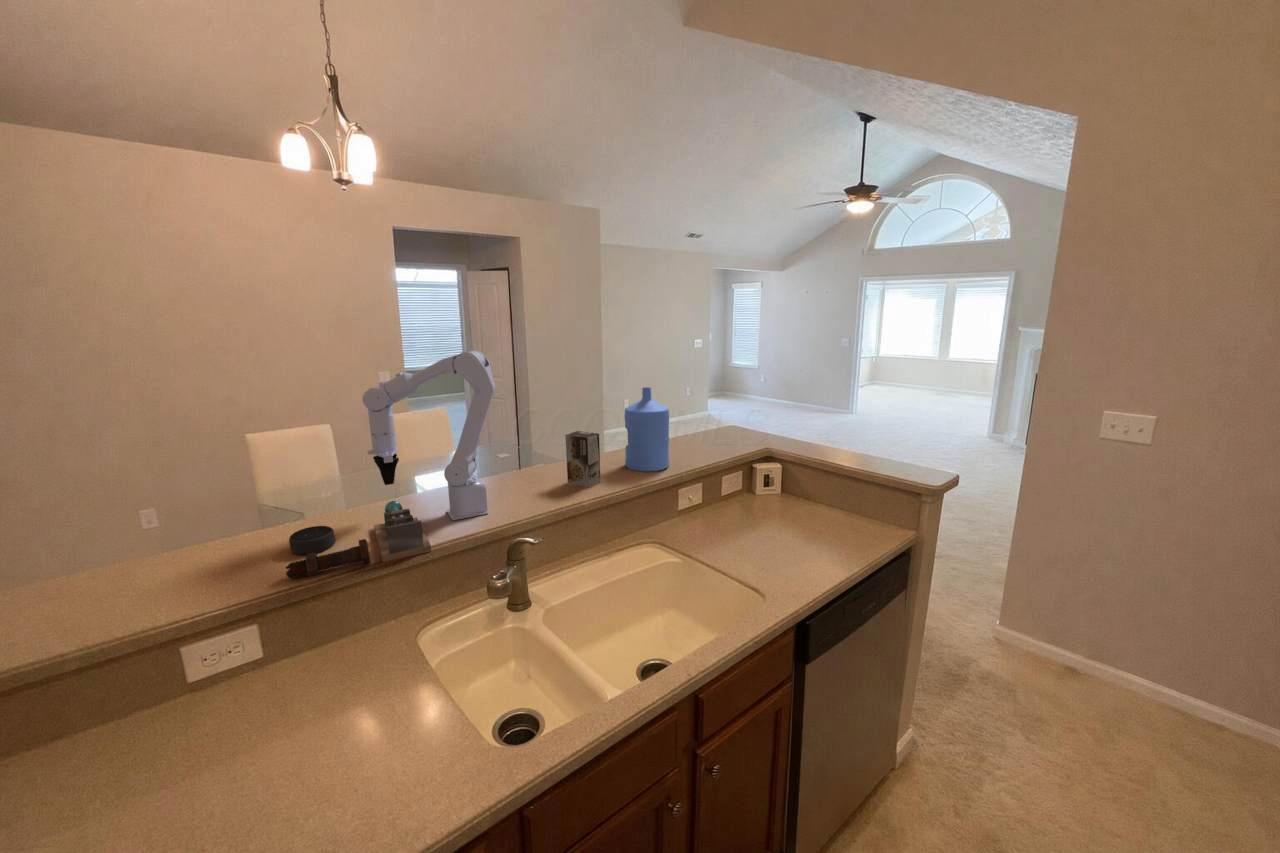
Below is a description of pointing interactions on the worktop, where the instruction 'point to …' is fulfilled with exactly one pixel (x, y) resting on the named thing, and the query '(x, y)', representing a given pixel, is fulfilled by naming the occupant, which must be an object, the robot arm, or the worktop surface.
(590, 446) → the coffee box
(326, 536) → the smart speaker
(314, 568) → the bolt
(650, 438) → the water jug
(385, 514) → the bearing rig
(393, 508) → the shaft
